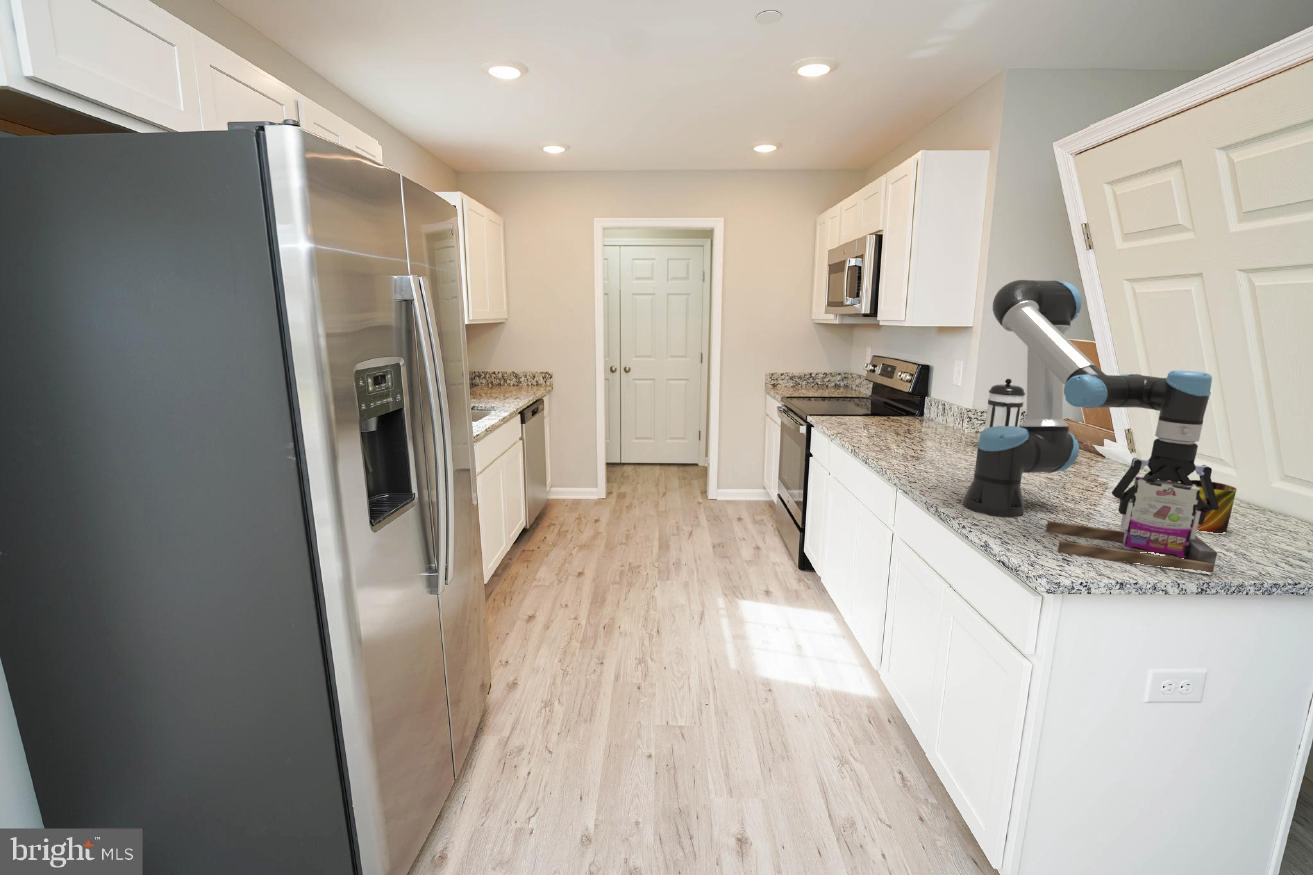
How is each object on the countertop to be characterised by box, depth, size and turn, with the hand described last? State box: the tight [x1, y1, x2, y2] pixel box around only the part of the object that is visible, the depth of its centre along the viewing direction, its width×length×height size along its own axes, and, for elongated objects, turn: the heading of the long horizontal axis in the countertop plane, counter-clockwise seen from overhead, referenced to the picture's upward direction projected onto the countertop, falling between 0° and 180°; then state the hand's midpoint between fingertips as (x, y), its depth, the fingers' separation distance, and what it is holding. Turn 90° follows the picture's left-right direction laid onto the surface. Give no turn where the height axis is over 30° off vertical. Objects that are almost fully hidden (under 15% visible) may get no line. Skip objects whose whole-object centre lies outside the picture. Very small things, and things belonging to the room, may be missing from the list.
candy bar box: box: [1122, 476, 1200, 558], centre depth 137 cm, size 11×5×16 cm, turn 56°
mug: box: [1190, 479, 1237, 533], centre depth 158 cm, size 10×14×12 cm
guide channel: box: [1046, 520, 1218, 573], centre depth 140 cm, size 28×16×5 cm, turn 66°
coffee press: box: [984, 378, 1026, 430], centre depth 241 cm, size 17×16×30 cm
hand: (1156, 532), depth 137 cm, fingers closed on candy bar box, 12 cm apart
